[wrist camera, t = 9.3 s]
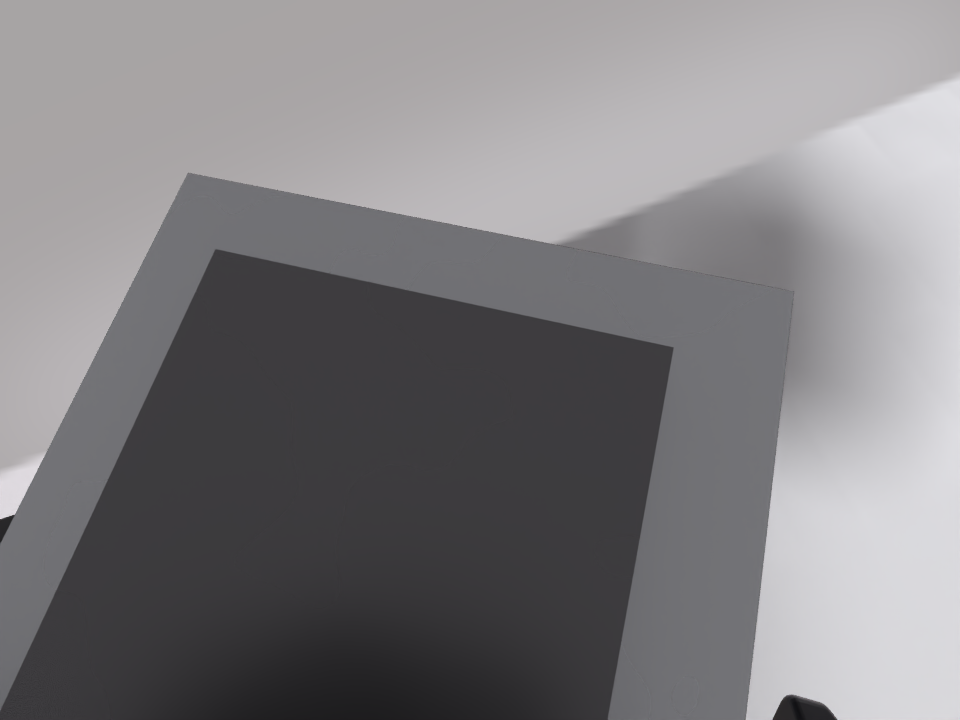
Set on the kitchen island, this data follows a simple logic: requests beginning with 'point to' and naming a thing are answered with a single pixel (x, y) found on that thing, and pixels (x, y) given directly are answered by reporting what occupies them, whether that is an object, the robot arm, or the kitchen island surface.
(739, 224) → the kitchen island surface
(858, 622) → the kitchen island surface
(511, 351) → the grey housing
